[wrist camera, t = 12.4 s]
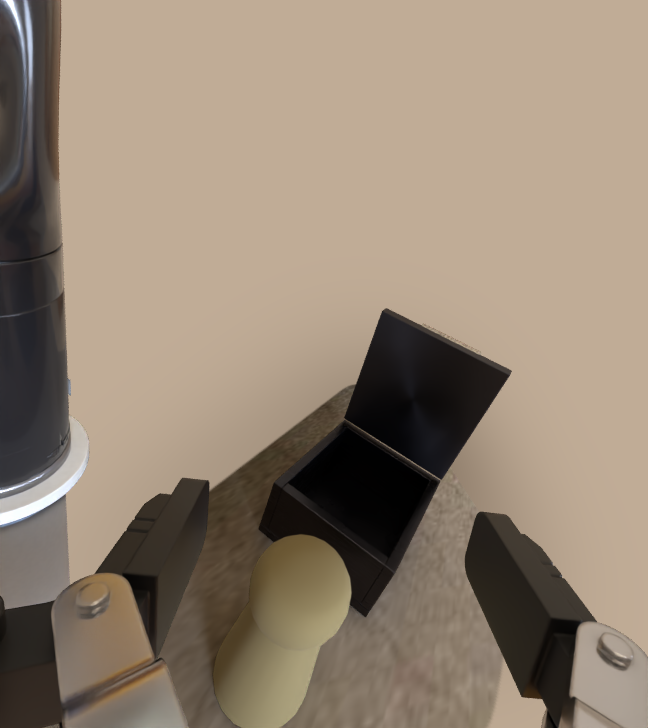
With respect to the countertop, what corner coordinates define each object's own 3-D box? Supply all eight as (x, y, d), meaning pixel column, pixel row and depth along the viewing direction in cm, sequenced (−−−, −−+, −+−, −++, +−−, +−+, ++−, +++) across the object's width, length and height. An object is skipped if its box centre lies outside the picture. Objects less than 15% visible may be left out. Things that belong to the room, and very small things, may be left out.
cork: (192, 664, 24) (222, 557, 18) (267, 599, 28) (308, 498, 23) (255, 764, 21) (311, 671, 16) (327, 674, 25) (390, 578, 20)
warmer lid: (510, 375, 28) (522, 347, 32) (381, 310, 31) (407, 293, 35) (441, 480, 35) (458, 447, 39) (343, 418, 39) (368, 393, 43)
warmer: (365, 617, 29) (394, 573, 26) (258, 529, 33) (273, 482, 30) (415, 520, 38) (440, 480, 36) (327, 460, 42) (344, 419, 39)
